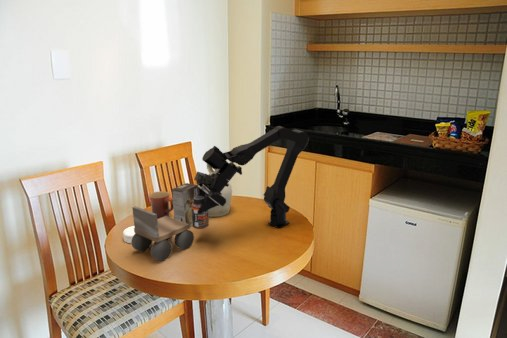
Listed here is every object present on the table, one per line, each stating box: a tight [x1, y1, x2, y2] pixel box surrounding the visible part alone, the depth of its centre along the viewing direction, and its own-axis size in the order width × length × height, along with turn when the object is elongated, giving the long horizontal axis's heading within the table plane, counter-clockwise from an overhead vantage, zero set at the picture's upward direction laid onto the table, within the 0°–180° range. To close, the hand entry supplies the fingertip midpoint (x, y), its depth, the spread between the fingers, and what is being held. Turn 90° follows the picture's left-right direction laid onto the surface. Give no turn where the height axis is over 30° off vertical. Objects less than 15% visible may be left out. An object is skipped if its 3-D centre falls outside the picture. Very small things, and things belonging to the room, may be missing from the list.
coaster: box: [122, 225, 135, 244], centre depth 148 cm, size 10×10×4 cm
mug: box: [148, 190, 174, 219], centre depth 165 cm, size 12×9×10 cm
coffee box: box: [171, 182, 198, 228], centre depth 158 cm, size 9×6×16 cm
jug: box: [197, 163, 233, 218], centre depth 168 cm, size 15×16×25 cm
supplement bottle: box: [191, 196, 210, 230], centre depth 142 cm, size 6×6×11 cm
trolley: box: [130, 206, 195, 262], centre depth 137 cm, size 17×13×17 cm
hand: (196, 210), depth 142 cm, fingers closed on supplement bottle, 6 cm apart
